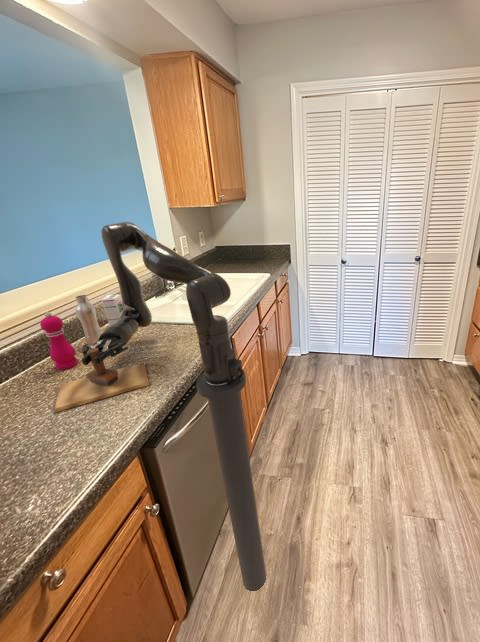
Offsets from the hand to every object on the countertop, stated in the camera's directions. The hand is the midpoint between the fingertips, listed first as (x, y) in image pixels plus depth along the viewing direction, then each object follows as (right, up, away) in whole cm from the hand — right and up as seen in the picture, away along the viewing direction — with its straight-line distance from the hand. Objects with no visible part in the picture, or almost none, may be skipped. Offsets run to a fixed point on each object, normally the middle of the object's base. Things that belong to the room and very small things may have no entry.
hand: (90, 361), depth 93 cm
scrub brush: (0, -7, +6) cm, 9 cm away
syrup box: (-19, +9, +50) cm, 54 cm away
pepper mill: (-21, -4, +20) cm, 30 cm away
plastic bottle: (-20, +2, +35) cm, 41 cm away
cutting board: (0, -8, +7) cm, 11 cm away
